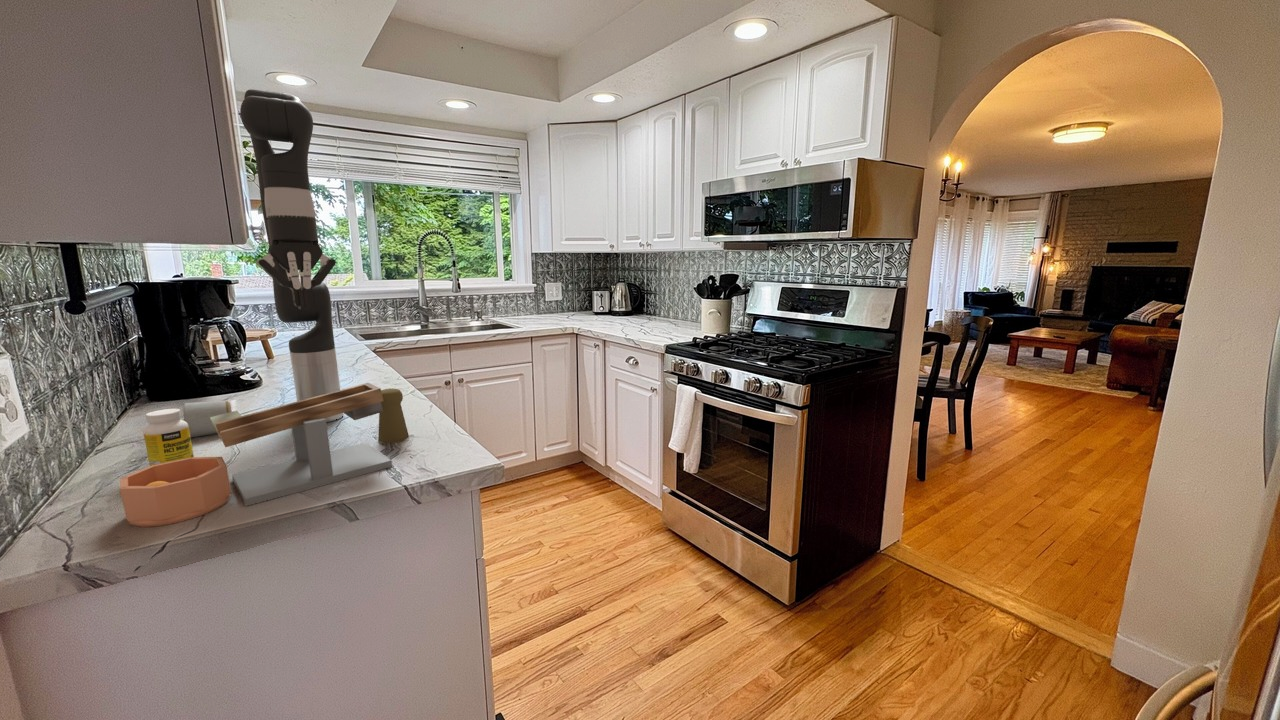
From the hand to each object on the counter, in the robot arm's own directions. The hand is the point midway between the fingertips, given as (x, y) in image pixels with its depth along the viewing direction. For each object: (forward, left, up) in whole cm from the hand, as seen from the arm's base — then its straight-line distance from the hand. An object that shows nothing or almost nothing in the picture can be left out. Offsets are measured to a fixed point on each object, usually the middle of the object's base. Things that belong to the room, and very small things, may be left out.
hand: (303, 308), depth 98 cm
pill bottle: (-11, -22, -29) cm, 38 cm away
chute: (+5, -4, -20) cm, 22 cm away
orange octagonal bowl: (+11, -22, -29) cm, 38 cm away
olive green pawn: (+2, +13, -29) cm, 32 cm away
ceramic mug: (-33, -15, -29) cm, 47 cm away
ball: (+11, -24, -26) cm, 37 cm away
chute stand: (+11, -4, -29) cm, 31 cm away
